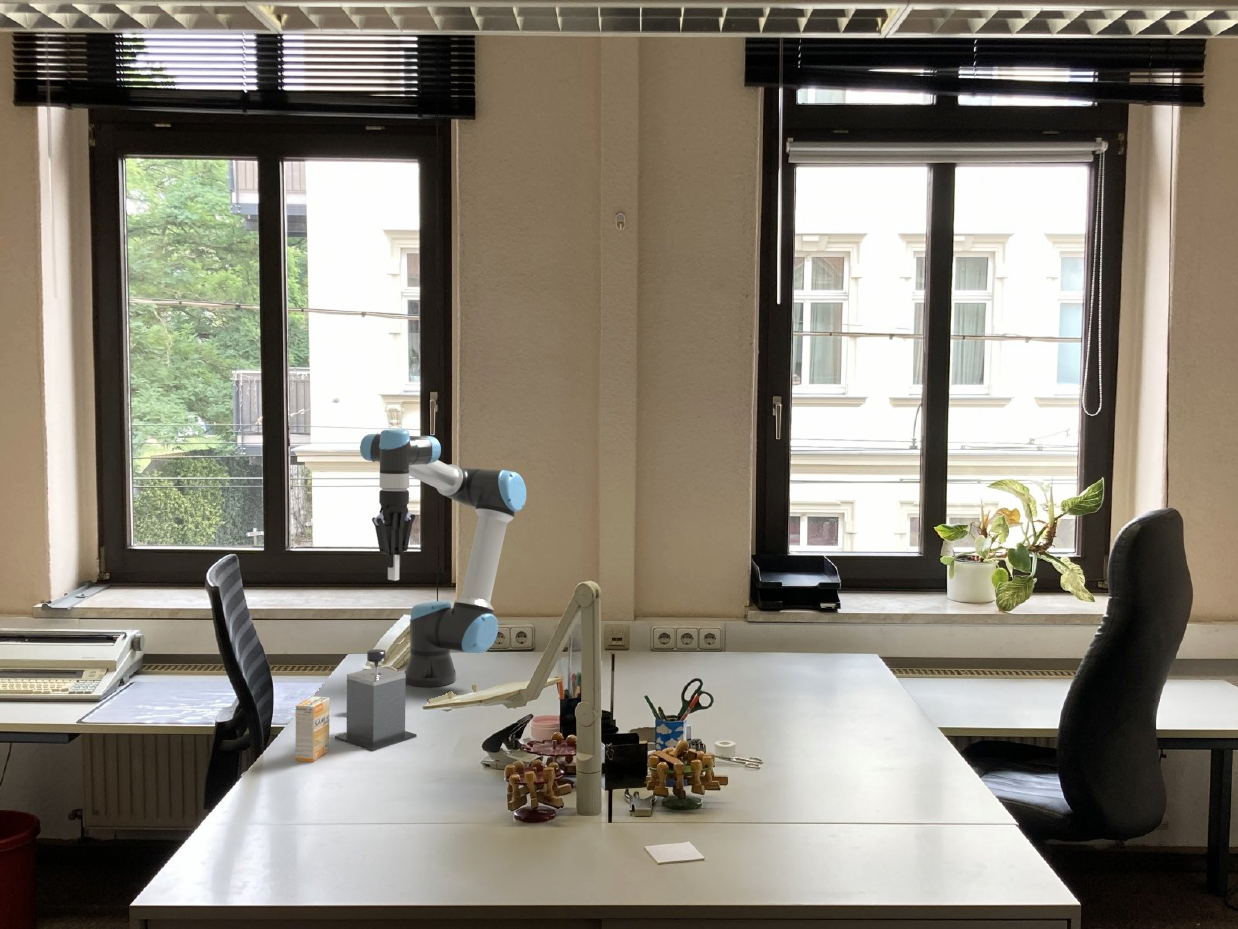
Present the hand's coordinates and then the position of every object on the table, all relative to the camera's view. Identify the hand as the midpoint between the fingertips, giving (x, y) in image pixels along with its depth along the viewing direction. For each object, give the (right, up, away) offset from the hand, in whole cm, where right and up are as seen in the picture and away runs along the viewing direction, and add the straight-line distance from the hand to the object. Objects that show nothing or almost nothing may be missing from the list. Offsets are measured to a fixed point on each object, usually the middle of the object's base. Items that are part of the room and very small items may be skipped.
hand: (393, 579), depth 279 cm
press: (-1, -38, -15) cm, 40 cm away
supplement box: (-13, -39, -28) cm, 49 cm away
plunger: (-1, -31, -15) cm, 34 cm away
